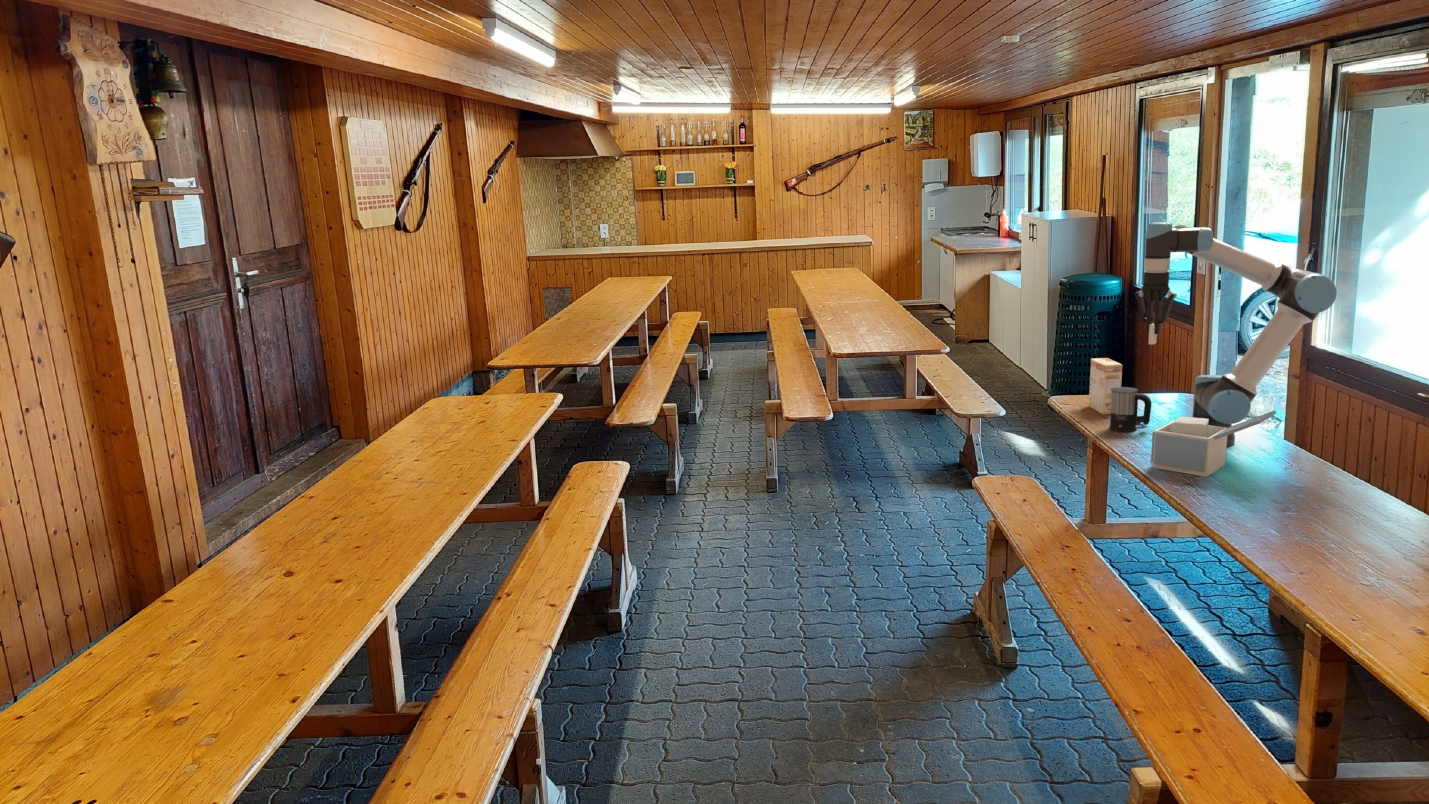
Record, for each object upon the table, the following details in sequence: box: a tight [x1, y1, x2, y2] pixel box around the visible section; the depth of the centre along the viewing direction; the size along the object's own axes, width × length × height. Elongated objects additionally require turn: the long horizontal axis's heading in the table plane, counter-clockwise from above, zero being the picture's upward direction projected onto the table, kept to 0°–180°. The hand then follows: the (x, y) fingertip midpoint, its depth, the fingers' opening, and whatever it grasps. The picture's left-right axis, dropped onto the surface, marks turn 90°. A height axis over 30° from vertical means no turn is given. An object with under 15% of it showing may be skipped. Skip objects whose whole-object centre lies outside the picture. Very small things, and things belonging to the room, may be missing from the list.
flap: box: [1214, 410, 1277, 440], centre depth 298 cm, size 1×15×14 cm
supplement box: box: [1174, 416, 1209, 438], centre depth 310 cm, size 9×9×15 cm
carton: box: [1150, 420, 1228, 477], centre depth 311 cm, size 17×18×12 cm
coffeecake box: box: [1088, 357, 1123, 415], centre depth 384 cm, size 15×7×20 cm, turn 179°
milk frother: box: [1109, 386, 1152, 433], centre depth 358 cm, size 14×16×15 cm
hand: (1152, 343), depth 321 cm, fingers closed
